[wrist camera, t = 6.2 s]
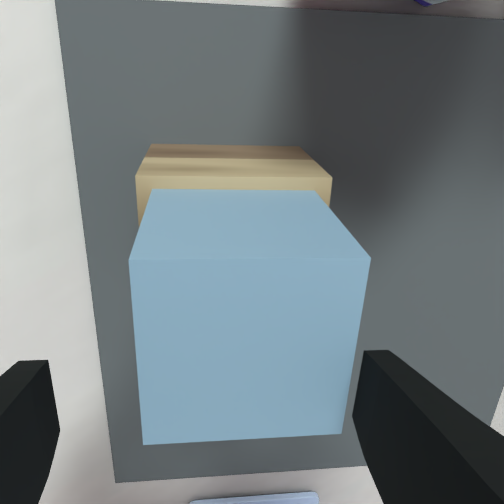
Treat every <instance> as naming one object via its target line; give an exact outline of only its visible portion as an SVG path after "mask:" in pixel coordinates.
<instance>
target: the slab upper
mask: <svg viewBox="0 0 504 504" xmlns="http://www.w3.org/2000/svg"><path fill="white" fill-rule="evenodd" d="M135 181H136V195H137V209H138V224H139V227H140V224H141V221H142V218H143V215H144V212H145V209H146V206H147V203H148V200H149V197H150V194H151V191H152V189H217V190H315V191H316V193H317V194H318V195H319V196H320V197H321V199H322V200H323V201H324V202H325V203H326V205H327V206H328V207H329V204H330V195H331V187H332V177H331V176H330V175H329V174H328V173H327V172H326V171H325V170H324V169H323V168H322V167H321V166H320V165H319V164H318V163H317V162H315V161H314V160H297V159H226V158H155V157H144V159H143V161H142V163H141V165H140V167H139V169H138V171H137V173H136V175H135Z"/></svg>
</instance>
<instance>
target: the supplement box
mask: <svg viewBox="0 0 504 504" xmlns="http://www.w3.org/2000/svg"><path fill="white" fill-rule="evenodd" d="M414 1H416V2H418V3H419V4H421V5H423V6H424V7H428V6H430V5H432V4H437V3H441V2H445V1H448V0H414Z"/></svg>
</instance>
